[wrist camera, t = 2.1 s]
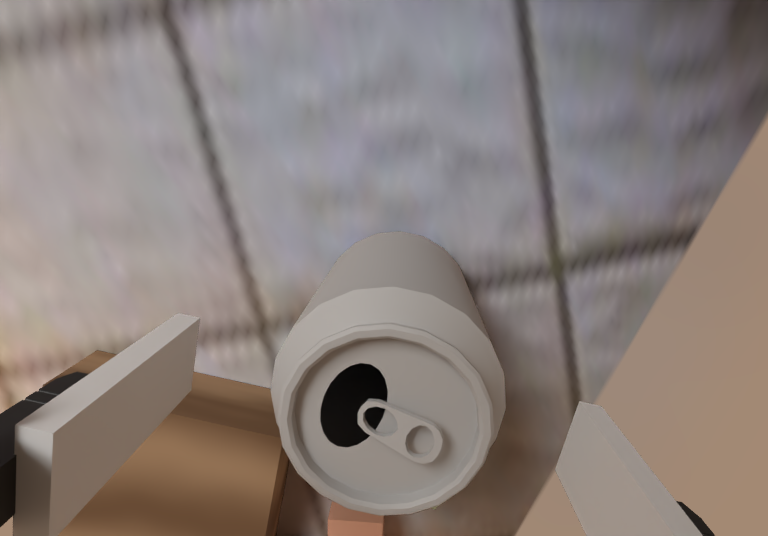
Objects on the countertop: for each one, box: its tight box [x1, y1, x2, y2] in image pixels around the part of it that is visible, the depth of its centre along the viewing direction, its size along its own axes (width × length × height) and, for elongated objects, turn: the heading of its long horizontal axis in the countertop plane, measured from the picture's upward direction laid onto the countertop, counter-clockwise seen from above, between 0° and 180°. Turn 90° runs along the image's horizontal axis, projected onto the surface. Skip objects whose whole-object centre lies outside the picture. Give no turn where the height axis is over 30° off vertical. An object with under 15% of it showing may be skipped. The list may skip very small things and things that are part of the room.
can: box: [270, 231, 506, 516], centre depth 19 cm, size 8×8×12 cm
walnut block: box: [43, 350, 290, 536], centre depth 26 cm, size 12×12×4 cm
